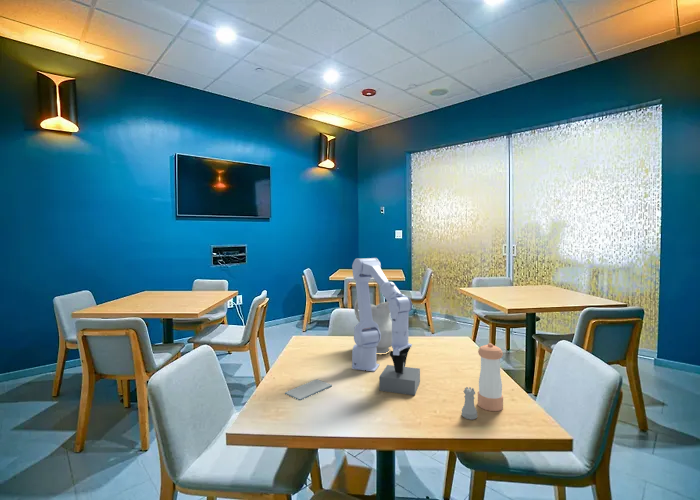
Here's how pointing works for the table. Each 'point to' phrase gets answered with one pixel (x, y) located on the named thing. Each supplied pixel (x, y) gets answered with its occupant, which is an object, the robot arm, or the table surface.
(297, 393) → the smartphone
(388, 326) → the ceramic pitcher
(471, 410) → the rook chess piece
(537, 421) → the table surface
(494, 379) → the pepper shaker
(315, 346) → the table surface
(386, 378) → the gray square knob slab
